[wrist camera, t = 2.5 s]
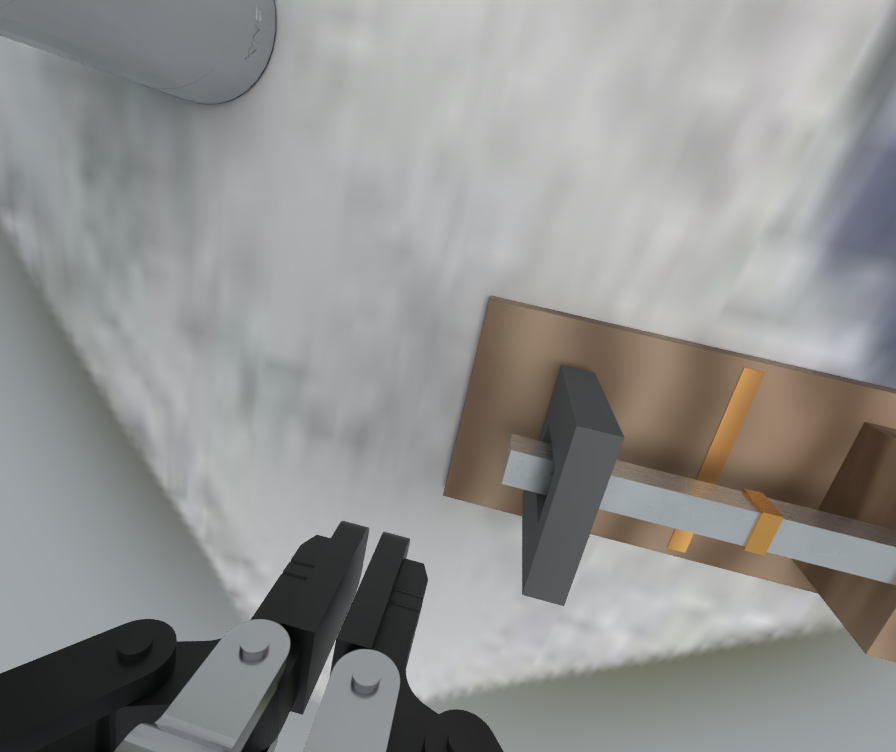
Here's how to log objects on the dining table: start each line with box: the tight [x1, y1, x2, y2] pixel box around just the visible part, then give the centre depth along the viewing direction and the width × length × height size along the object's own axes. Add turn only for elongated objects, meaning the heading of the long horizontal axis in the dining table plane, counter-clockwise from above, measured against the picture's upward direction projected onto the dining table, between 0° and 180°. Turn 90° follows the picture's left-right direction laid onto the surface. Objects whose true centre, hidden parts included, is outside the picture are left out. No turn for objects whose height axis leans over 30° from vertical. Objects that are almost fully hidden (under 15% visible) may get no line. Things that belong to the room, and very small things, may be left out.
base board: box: [443, 296, 896, 662], centre depth 29 cm, size 26×14×9 cm, turn 78°
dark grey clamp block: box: [522, 365, 624, 606], centre depth 26 cm, size 2×9×9 cm, turn 168°
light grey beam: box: [502, 434, 896, 585], centre depth 26 cm, size 20×2×2 cm, turn 78°
